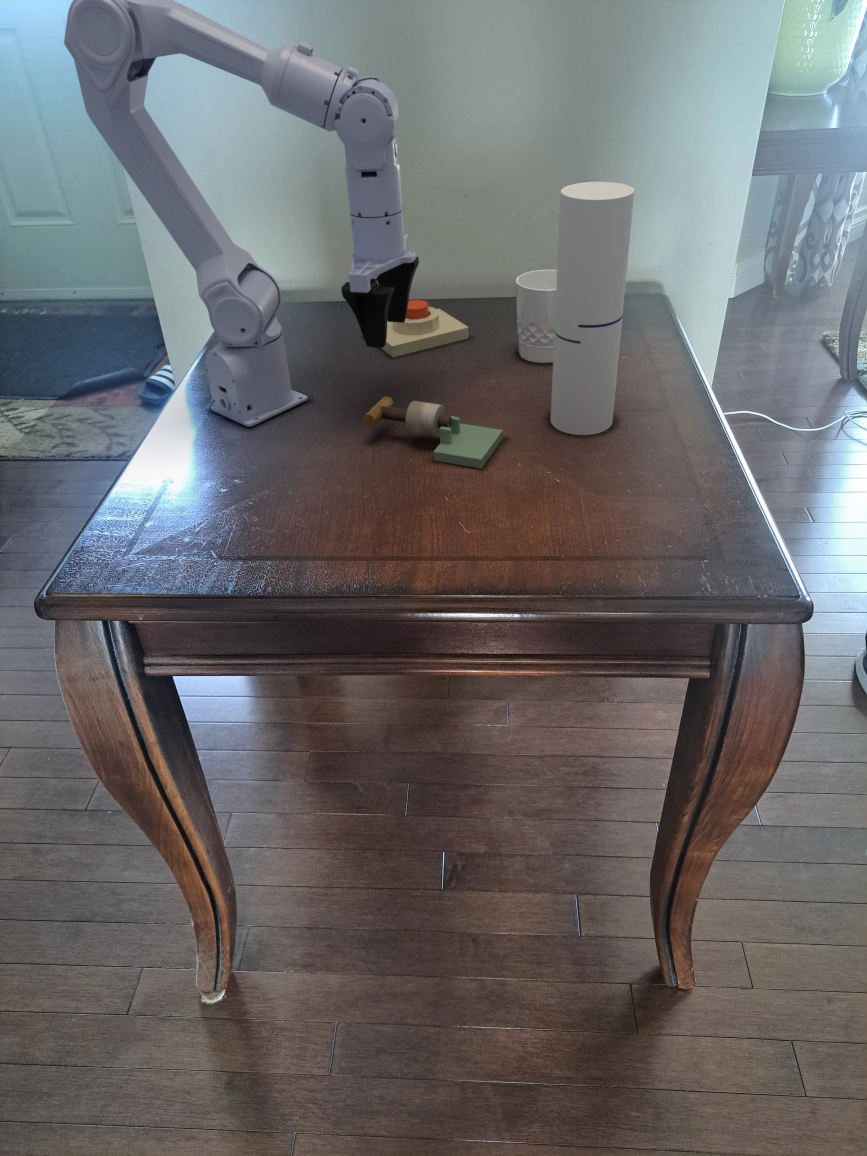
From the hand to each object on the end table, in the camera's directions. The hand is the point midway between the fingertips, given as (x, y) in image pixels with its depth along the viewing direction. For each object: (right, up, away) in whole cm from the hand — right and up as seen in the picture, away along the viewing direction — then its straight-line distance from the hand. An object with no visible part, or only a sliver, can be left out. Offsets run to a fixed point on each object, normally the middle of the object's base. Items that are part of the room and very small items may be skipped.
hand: (386, 333), depth 97 cm
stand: (+10, -14, -5) cm, 18 cm away
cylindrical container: (+23, -11, -1) cm, 25 cm away
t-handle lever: (+3, -12, -3) cm, 13 cm away
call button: (+3, +8, +20) cm, 22 cm away
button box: (+3, +6, +22) cm, 23 cm away
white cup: (+21, +1, +15) cm, 25 cm away
